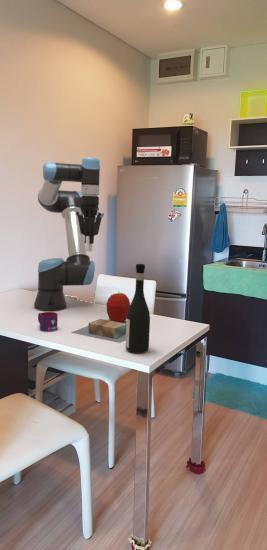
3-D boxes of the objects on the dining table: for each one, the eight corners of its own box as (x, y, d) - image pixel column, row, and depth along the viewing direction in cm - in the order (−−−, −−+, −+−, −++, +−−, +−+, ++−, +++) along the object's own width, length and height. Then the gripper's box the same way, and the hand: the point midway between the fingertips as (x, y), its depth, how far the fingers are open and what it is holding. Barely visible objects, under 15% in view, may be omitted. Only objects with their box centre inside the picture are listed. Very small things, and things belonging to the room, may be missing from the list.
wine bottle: (121, 351, 146) (124, 264, 141) (130, 345, 153) (133, 262, 149) (144, 355, 143) (148, 266, 139) (151, 348, 151) (155, 263, 146)
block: (88, 323, 163) (115, 328, 158) (100, 318, 170) (126, 323, 165) (88, 333, 164) (115, 338, 158) (99, 328, 171) (125, 333, 165)
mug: (45, 334, 163) (45, 316, 162) (32, 328, 170) (32, 311, 169) (60, 331, 167) (60, 314, 166) (47, 325, 175) (48, 309, 173)
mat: (70, 333, 164) (70, 332, 164) (91, 325, 176) (91, 324, 176) (120, 344, 154) (120, 342, 154) (138, 335, 166) (138, 333, 166)
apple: (119, 318, 190) (120, 287, 188) (134, 323, 183) (135, 291, 181) (100, 321, 183) (101, 289, 181) (116, 327, 176) (117, 293, 174)
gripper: (72, 195, 181) (71, 250, 185) (98, 195, 175) (96, 253, 179) (82, 195, 188) (81, 249, 191) (107, 196, 181) (106, 251, 185)
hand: (88, 251), depth 185 cm, fingers closed
